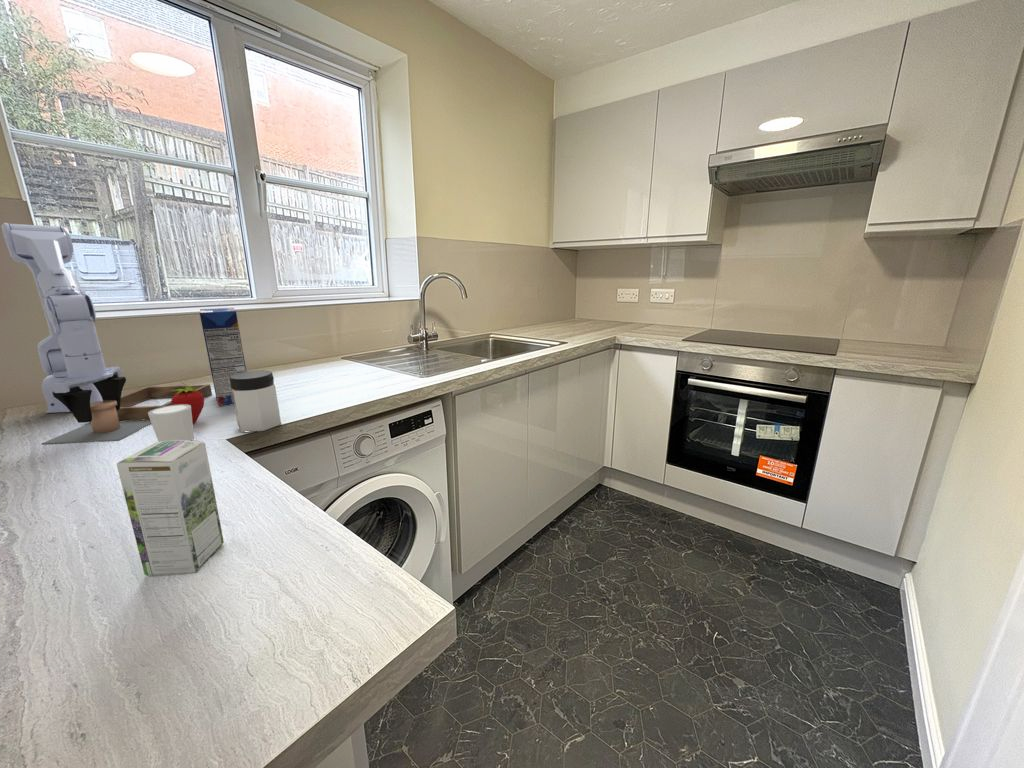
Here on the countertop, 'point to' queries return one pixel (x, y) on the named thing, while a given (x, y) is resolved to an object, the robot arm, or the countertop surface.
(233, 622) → the countertop surface
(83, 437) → the slate mat
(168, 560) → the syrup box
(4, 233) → the robot arm
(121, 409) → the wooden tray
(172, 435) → the white tapered pot
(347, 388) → the countertop surface
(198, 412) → the strawberry
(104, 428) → the wooden drawer knob
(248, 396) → the jar
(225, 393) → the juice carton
